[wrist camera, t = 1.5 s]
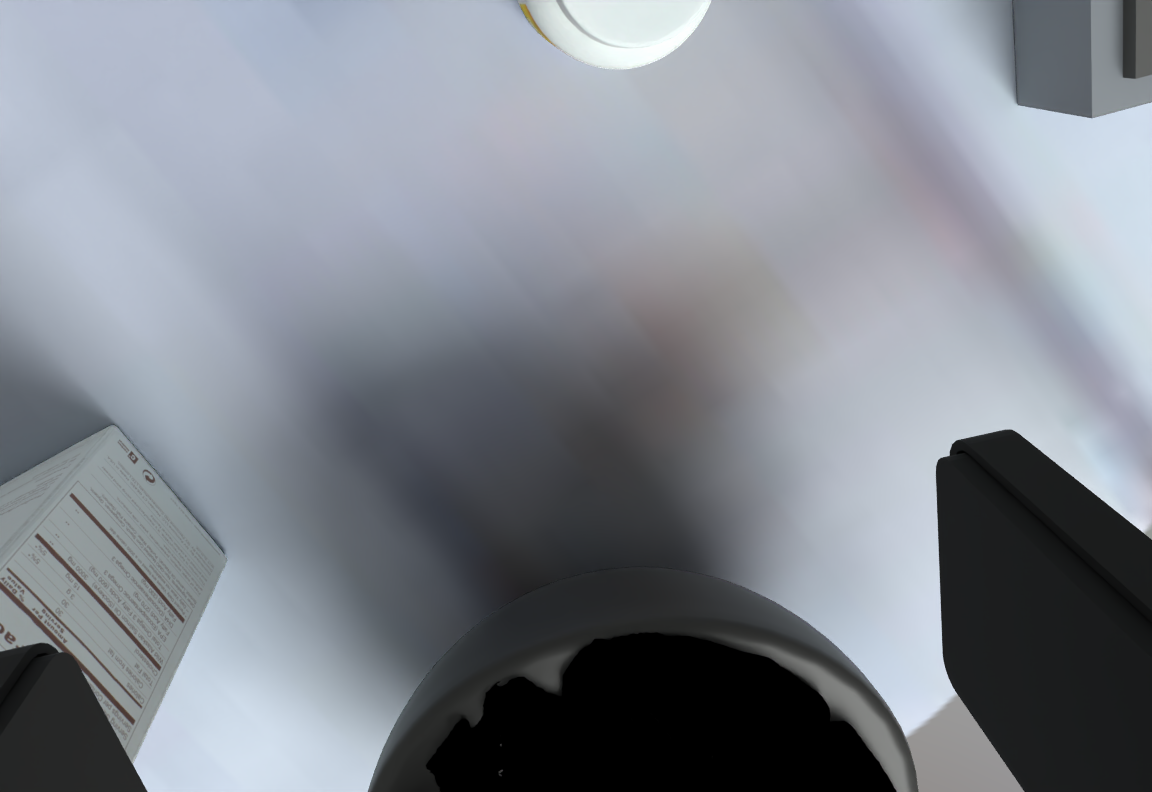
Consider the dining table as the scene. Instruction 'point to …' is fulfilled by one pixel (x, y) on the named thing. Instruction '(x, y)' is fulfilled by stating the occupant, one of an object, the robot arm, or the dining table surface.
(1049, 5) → the plinth
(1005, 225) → the dining table surface
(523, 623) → the coal bowl
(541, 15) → the supplement bottle
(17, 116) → the dining table surface
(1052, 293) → the dining table surface
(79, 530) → the supplement box
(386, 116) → the dining table surface
